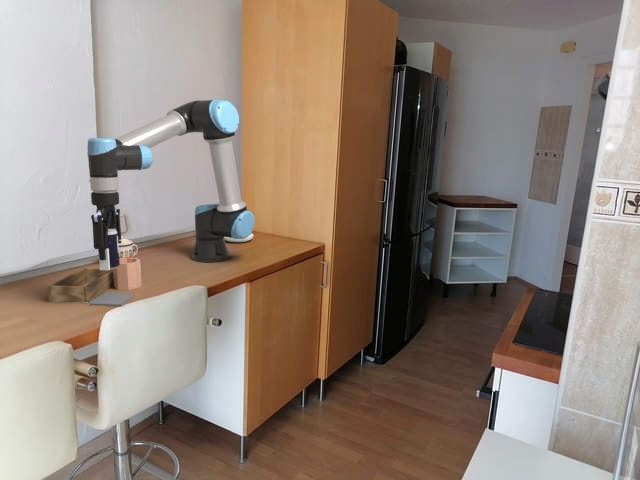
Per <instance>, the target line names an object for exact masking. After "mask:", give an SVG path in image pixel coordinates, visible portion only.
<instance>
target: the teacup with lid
mask: <svg viewBox="0 0 640 480" xmlns="http://www.w3.org/2000/svg"><path fill="white" fill-rule="evenodd" d="M119 241H121V243H118V245H119V259H121V258H134V257H135V256H136V255H137V253H138V250H139V248H138V245H137V244H136V243H135V244H134V242H133V240H131V239H127V238H125V237H124V236H123V235H121V240H119ZM133 247H134V248H133Z"/></svg>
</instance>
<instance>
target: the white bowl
mask: <svg viewBox="0 0 640 480" xmlns="http://www.w3.org/2000/svg"><path fill="white" fill-rule="evenodd" d="M253 238H254V234H253V233H252V232H251V234H250V235H249V236H248V237H247V238H245V239H233V238H229V237H224V241H225V242H226V241H227V242H229V243H244V242H248V241H250V240H253Z"/></svg>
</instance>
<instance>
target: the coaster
mask: <svg viewBox="0 0 640 480" xmlns="http://www.w3.org/2000/svg"><path fill="white" fill-rule="evenodd" d="M135 296H136V294H135V293H126V292H125V293H119V292H103V293H102V294H100V295H99V296H97V297H96V298H94V299H93V300H91V301H90V302H88V303H87V305H88V304H90V305H89V306H92V305H109V306H108V307H123V306H124V305H125V304H126V303H127V302H129V301H130V300H131V299H133V298H134V297H135ZM132 297H133V298H132ZM122 305H123V306H122Z"/></svg>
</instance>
